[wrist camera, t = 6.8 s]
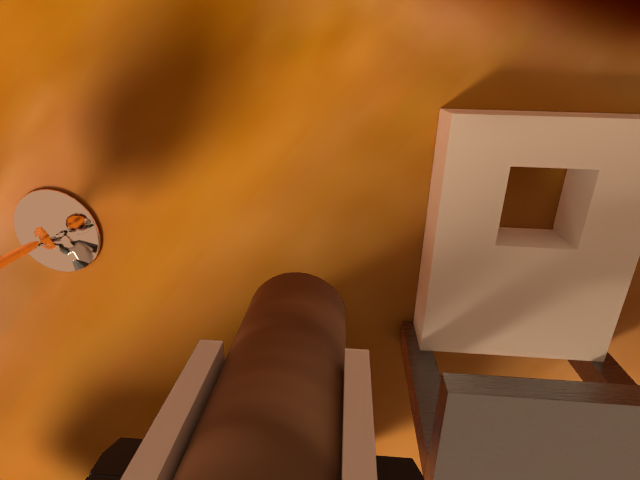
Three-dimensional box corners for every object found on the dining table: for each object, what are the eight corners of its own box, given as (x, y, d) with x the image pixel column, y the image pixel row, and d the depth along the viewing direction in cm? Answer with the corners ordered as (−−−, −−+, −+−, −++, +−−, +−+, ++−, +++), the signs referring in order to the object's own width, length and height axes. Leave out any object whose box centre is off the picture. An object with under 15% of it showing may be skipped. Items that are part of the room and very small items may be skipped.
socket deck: (413, 322, 37) (420, 350, 33) (439, 108, 30) (452, 113, 26) (578, 331, 36) (603, 361, 32) (643, 114, 29) (685, 120, 25)
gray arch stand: (399, 340, 38) (428, 506, 23) (408, 259, 35) (448, 392, 20) (584, 351, 37) (732, 532, 22) (609, 269, 34) (800, 417, 19)
